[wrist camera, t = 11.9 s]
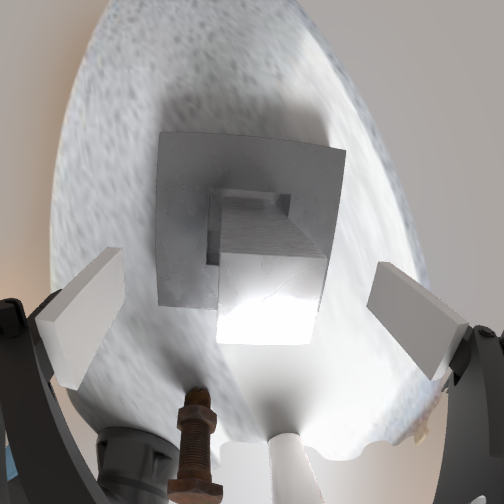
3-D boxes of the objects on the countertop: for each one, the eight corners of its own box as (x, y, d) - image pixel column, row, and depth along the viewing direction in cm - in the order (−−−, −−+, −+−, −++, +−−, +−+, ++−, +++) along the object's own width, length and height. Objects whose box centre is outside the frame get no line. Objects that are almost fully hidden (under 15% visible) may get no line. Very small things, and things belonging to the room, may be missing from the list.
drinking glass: (302, 446, 38) (322, 518, 24) (262, 451, 37) (274, 526, 23) (307, 425, 36) (331, 507, 22) (262, 431, 35) (277, 517, 21)
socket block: (308, 293, 28) (318, 311, 24) (165, 287, 26) (158, 305, 23) (330, 150, 23) (346, 150, 20) (169, 135, 21) (159, 131, 18)
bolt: (228, 394, 32) (235, 501, 17) (204, 411, 32) (203, 510, 18) (191, 373, 30) (182, 487, 16) (167, 392, 31) (153, 496, 17)
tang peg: (265, 244, 25) (308, 343, 12) (220, 241, 24) (216, 342, 11) (270, 199, 24) (327, 258, 10) (223, 196, 23) (221, 252, 10)
